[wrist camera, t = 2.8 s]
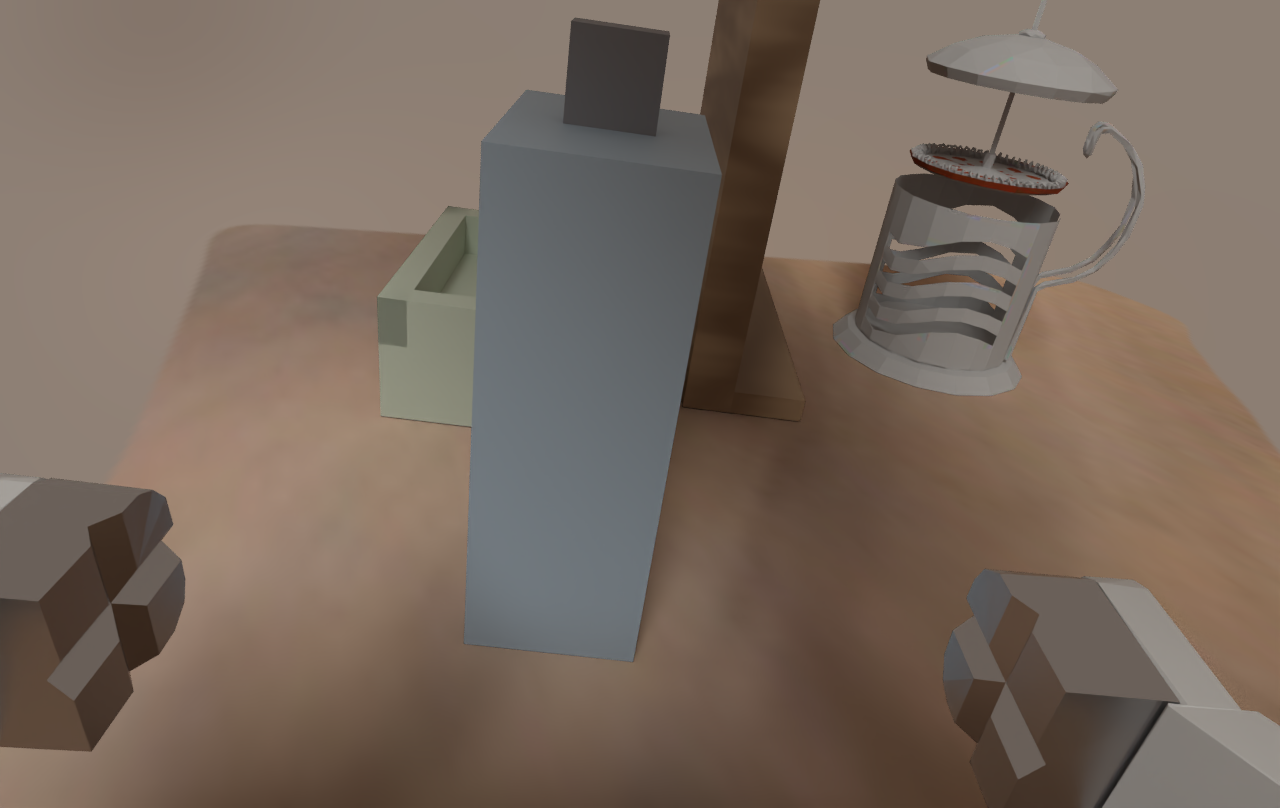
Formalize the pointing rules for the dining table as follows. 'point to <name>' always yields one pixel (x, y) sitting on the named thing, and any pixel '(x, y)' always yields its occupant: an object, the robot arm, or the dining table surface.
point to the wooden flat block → (748, 208)
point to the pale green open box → (431, 325)
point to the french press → (976, 231)
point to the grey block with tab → (582, 345)
